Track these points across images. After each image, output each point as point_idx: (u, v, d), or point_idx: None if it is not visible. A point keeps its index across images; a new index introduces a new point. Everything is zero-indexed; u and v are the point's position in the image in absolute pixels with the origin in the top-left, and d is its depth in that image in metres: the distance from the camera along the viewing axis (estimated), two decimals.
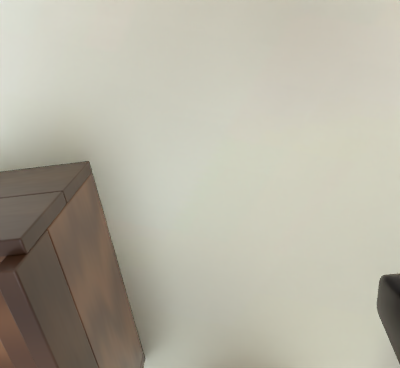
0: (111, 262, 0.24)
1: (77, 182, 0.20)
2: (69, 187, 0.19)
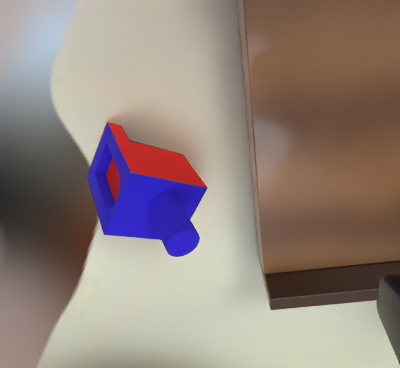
0: None
1: None
2: None
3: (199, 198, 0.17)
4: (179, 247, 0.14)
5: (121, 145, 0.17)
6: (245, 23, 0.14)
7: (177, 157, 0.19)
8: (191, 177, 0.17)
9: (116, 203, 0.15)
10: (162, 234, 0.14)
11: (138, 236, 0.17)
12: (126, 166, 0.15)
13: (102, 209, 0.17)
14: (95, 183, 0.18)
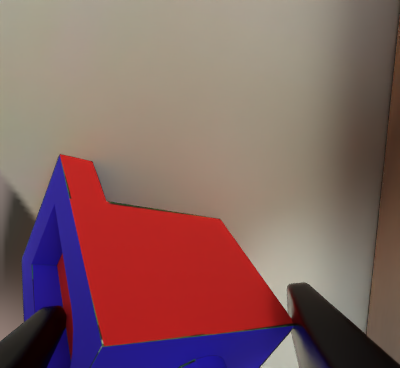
0: None
1: None
2: None
3: (274, 346, 0.07)
4: None
5: (86, 223, 0.06)
6: None
7: (213, 231, 0.09)
8: (256, 297, 0.07)
9: None
10: None
11: None
12: (90, 310, 0.05)
13: None
14: (30, 293, 0.08)
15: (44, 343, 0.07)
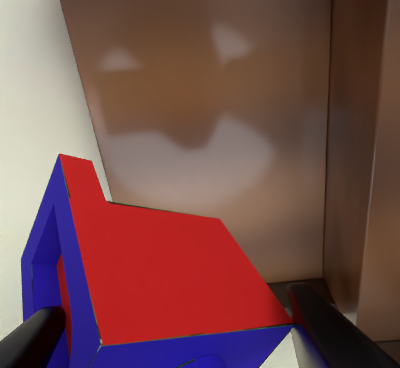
0: None
1: None
2: None
3: (273, 346, 0.07)
4: None
5: (85, 223, 0.06)
6: (75, 57, 0.15)
7: (212, 231, 0.09)
8: (255, 297, 0.07)
9: None
10: None
11: None
12: (89, 310, 0.05)
13: None
14: (29, 292, 0.08)
15: (44, 343, 0.07)
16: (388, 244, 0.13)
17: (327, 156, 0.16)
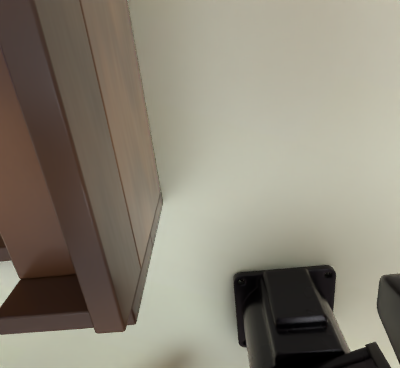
0: None
1: None
2: None
3: None
4: None
5: None
6: None
7: None
8: None
9: None
10: None
11: None
12: None
13: None
14: None
15: None
16: None
17: None
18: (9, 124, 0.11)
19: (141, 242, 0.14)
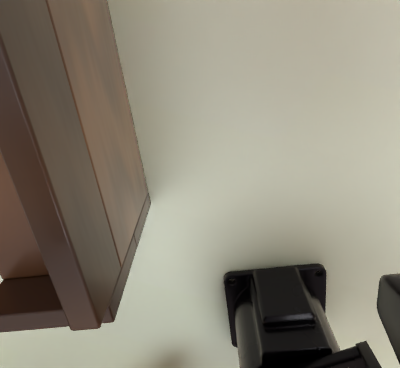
0: None
1: None
2: None
3: None
4: None
5: None
6: None
7: None
8: None
9: None
10: None
11: None
12: None
13: None
14: None
15: None
16: None
17: None
18: None
19: (122, 241, 0.14)
